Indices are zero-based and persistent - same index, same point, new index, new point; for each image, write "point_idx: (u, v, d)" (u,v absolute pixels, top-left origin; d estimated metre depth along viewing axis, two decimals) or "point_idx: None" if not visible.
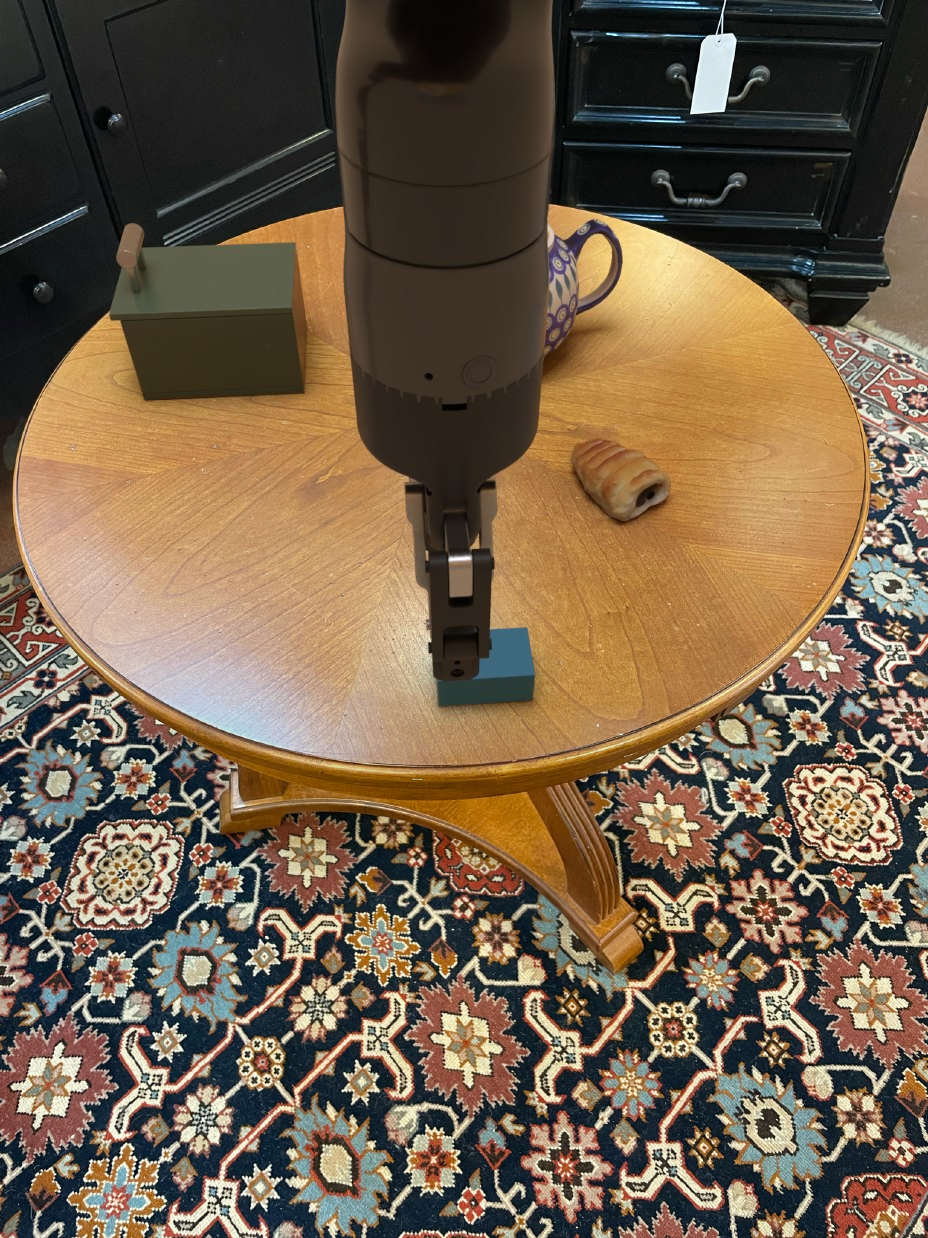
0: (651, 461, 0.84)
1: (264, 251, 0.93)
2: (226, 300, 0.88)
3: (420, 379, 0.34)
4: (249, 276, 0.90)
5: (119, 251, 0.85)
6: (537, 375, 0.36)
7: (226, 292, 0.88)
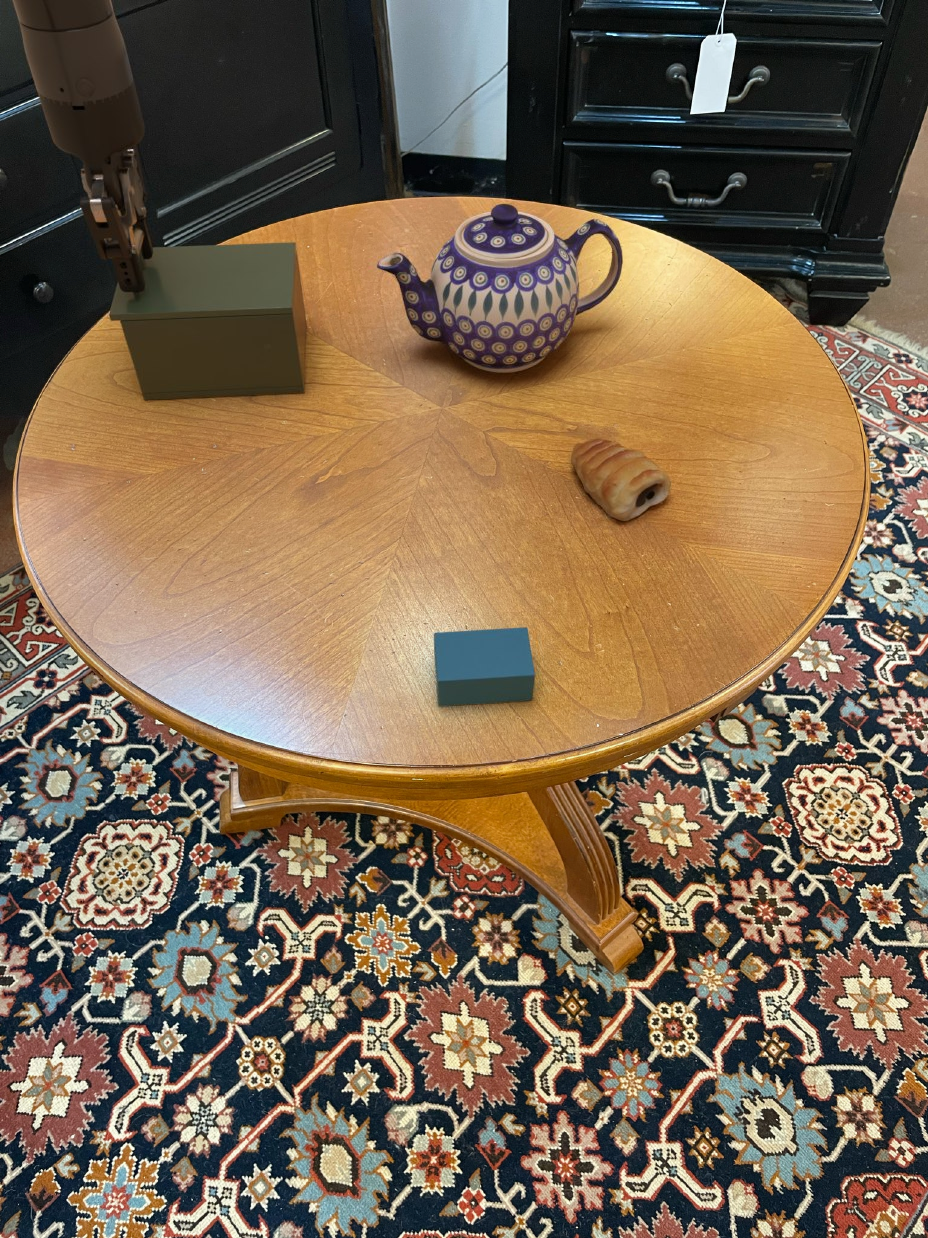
0: (651, 461, 0.84)
1: (264, 251, 0.93)
2: (226, 300, 0.88)
3: (58, 91, 0.74)
4: (249, 276, 0.90)
5: None
6: (125, 98, 0.76)
7: (226, 292, 0.88)
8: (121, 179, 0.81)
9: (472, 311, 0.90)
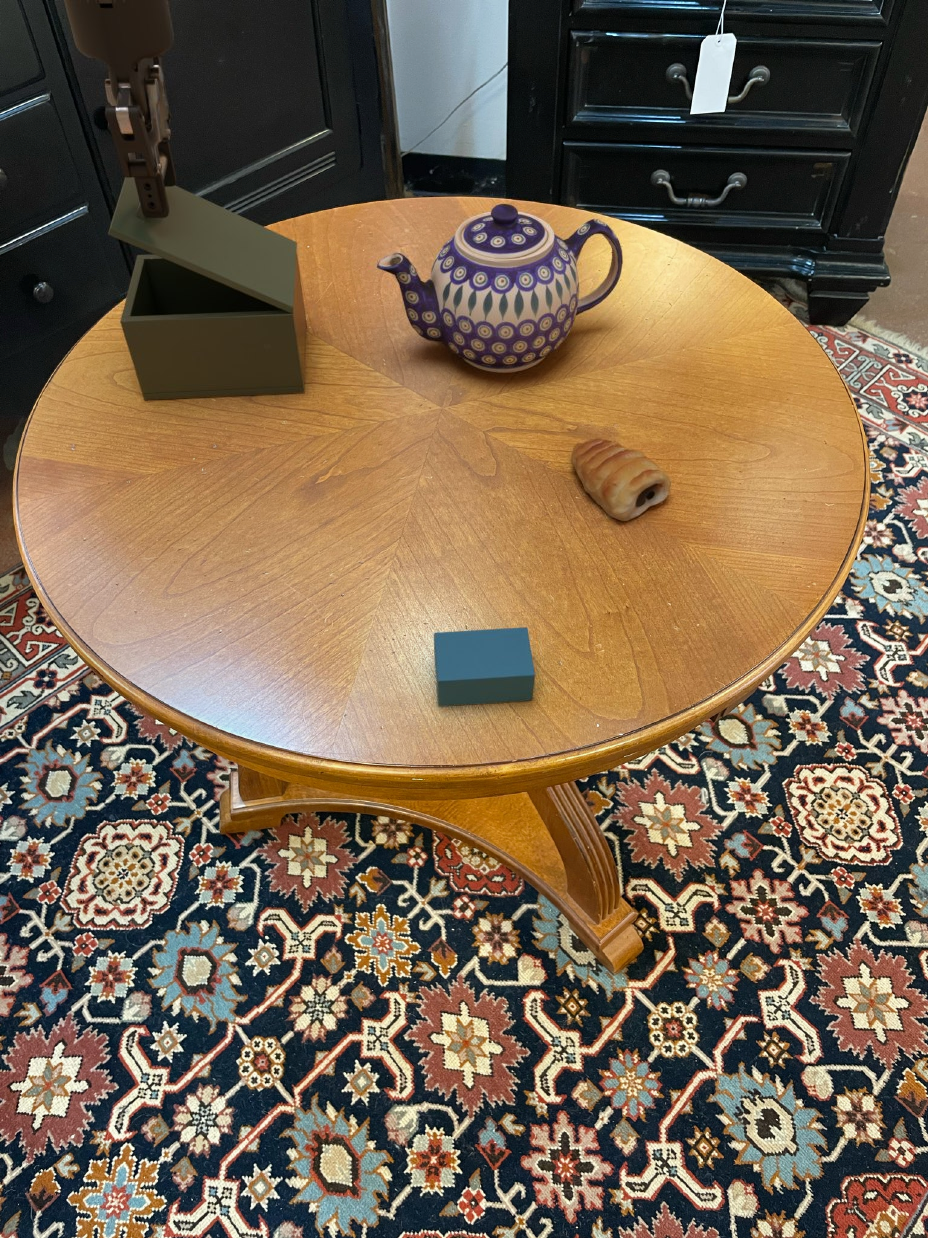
0: (651, 461, 0.84)
1: (268, 237, 0.92)
2: (231, 270, 0.85)
3: None
4: (253, 256, 0.89)
5: None
6: None
7: (231, 262, 0.86)
8: (148, 91, 0.76)
9: (472, 311, 0.90)
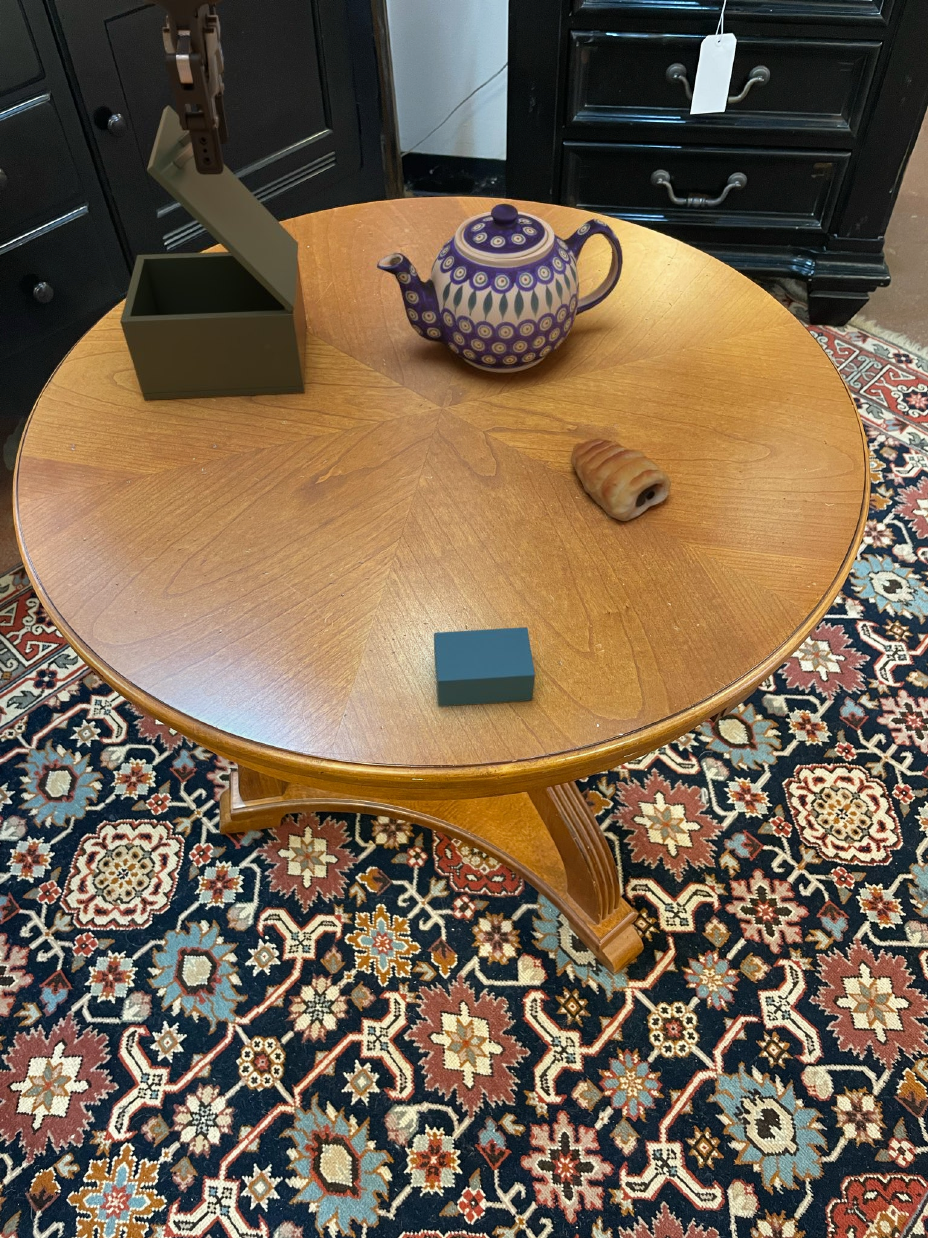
0: (651, 461, 0.84)
1: (276, 228, 0.92)
2: (248, 250, 0.84)
3: None
4: (265, 243, 0.88)
5: None
6: None
7: (248, 243, 0.85)
8: (206, 39, 0.73)
9: (472, 311, 0.90)
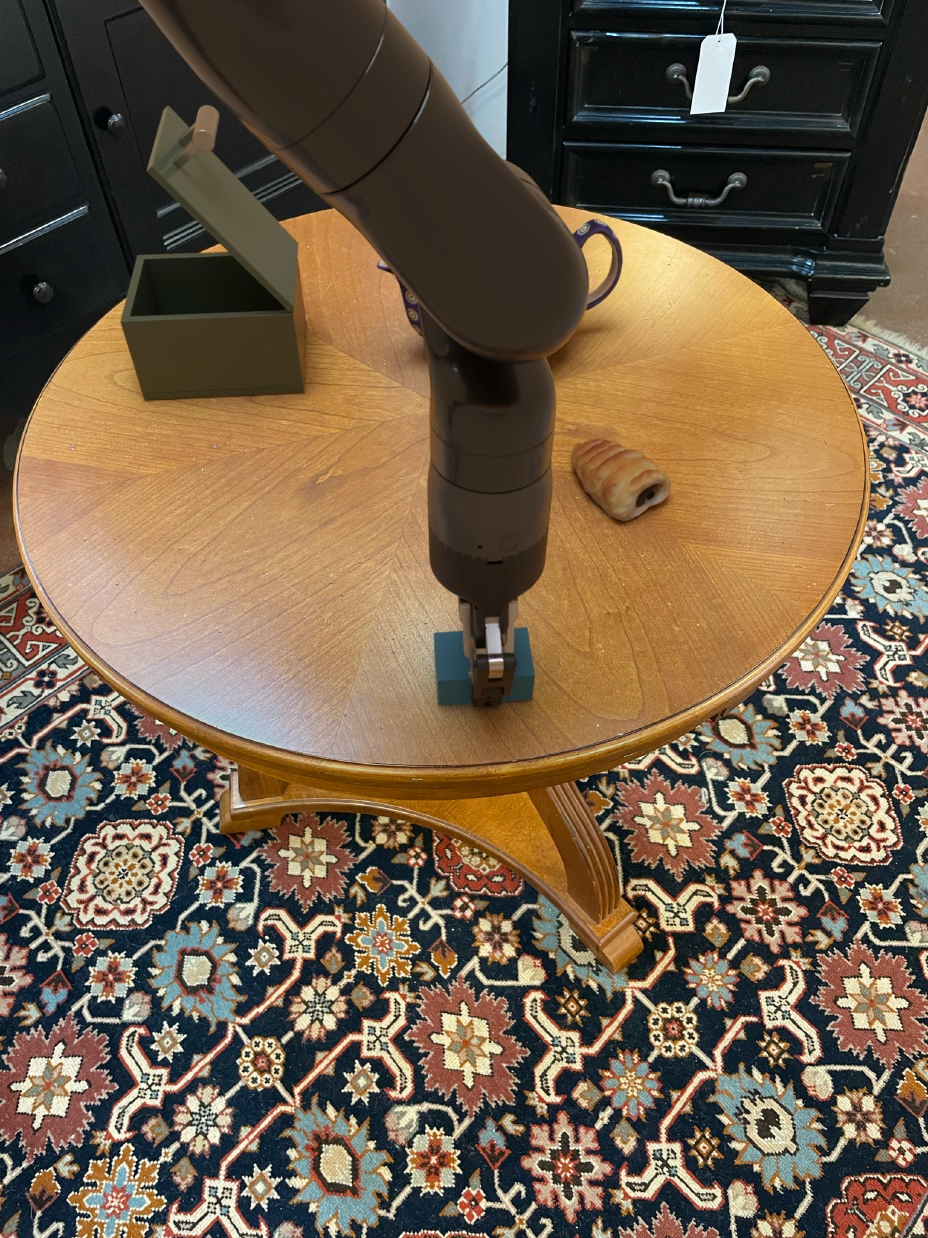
0: (651, 461, 0.84)
1: (276, 228, 0.92)
2: (248, 250, 0.84)
3: (474, 548, 0.56)
4: (265, 243, 0.88)
5: (205, 130, 0.78)
6: (545, 538, 0.58)
7: (248, 243, 0.85)
8: (508, 610, 0.63)
9: None
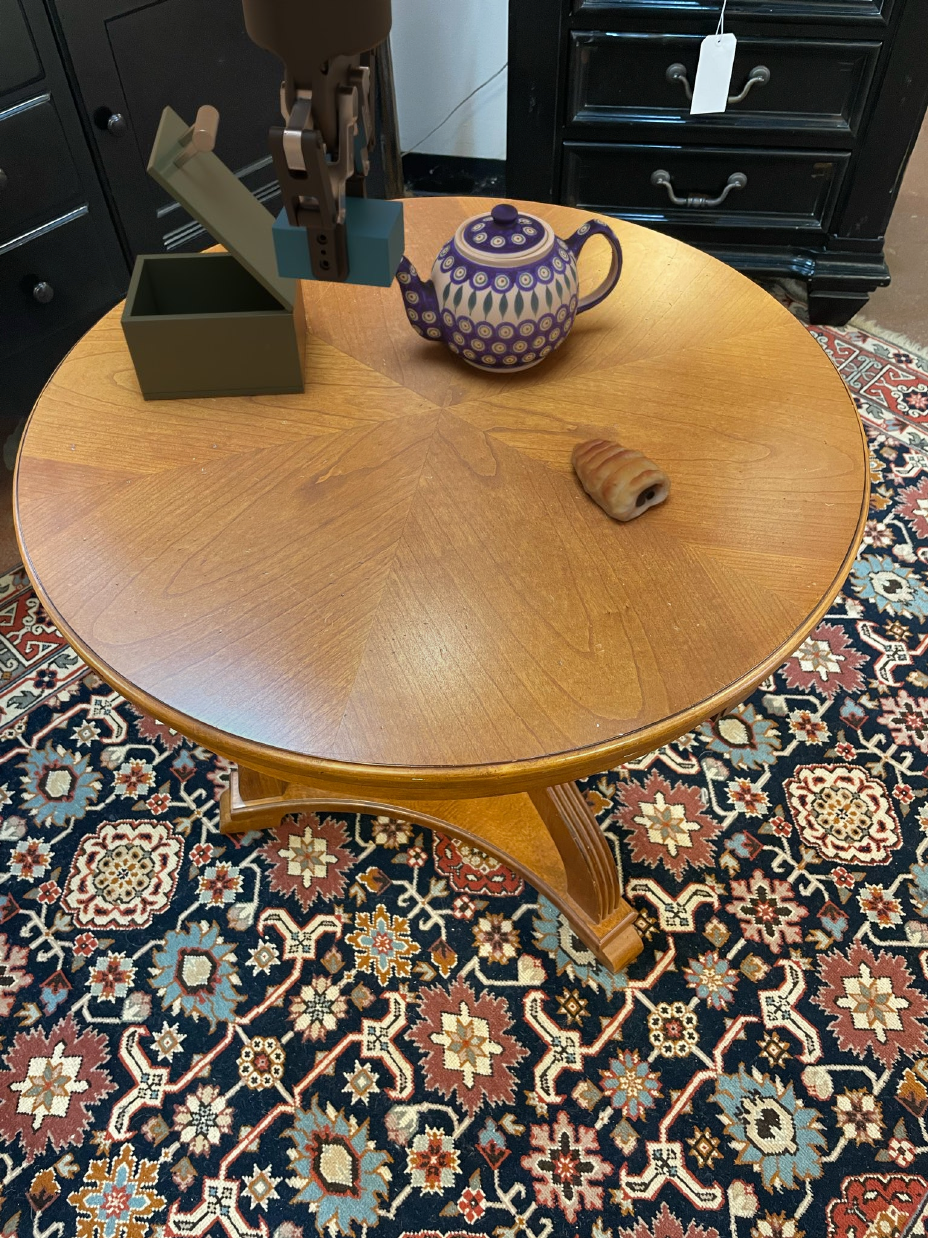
0: (651, 461, 0.84)
1: None
2: (248, 250, 0.84)
3: None
4: (265, 243, 0.88)
5: (205, 130, 0.78)
6: None
7: (248, 243, 0.85)
8: (340, 104, 0.50)
9: (472, 311, 0.90)
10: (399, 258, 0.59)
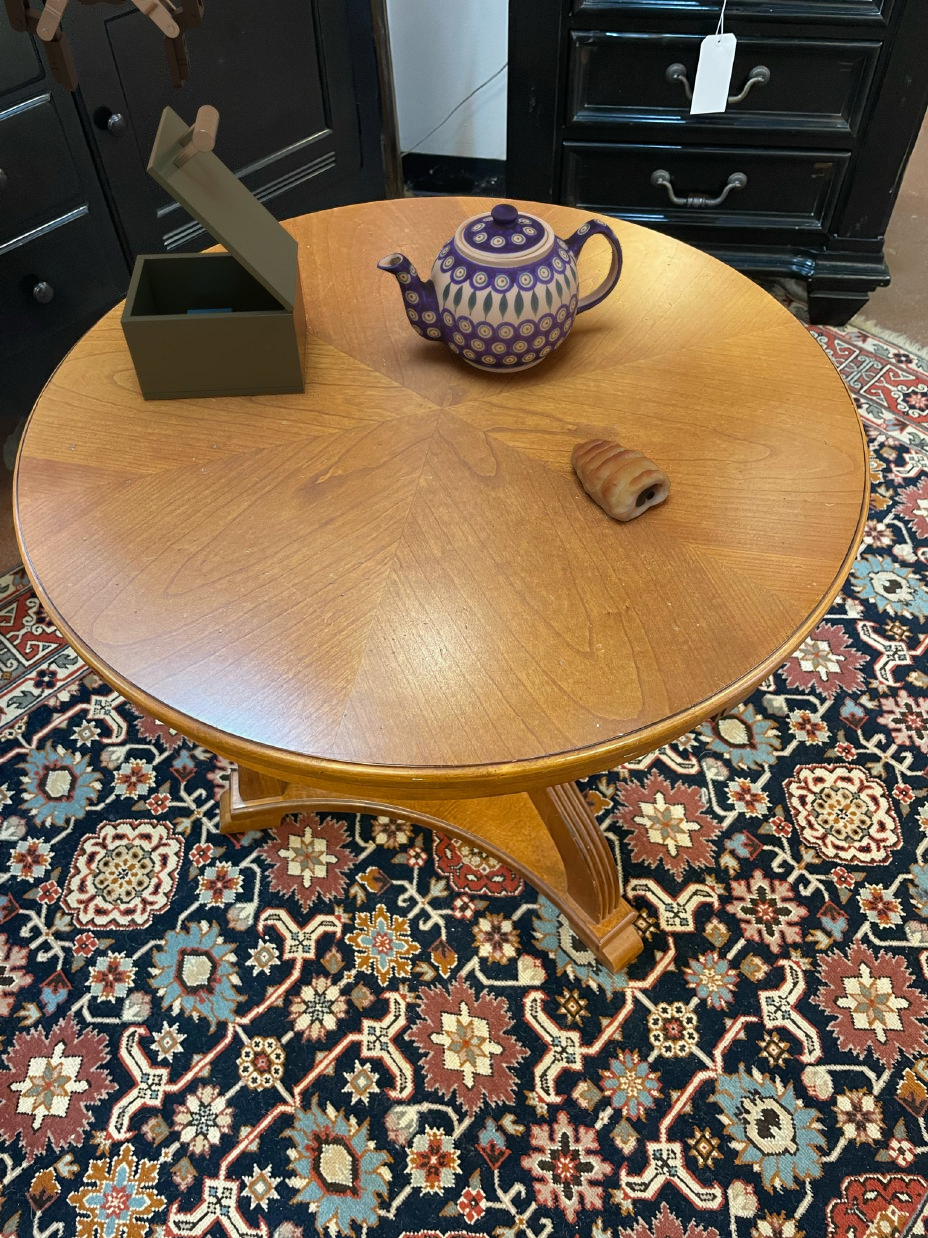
0: (651, 461, 0.84)
1: (276, 228, 0.92)
2: (248, 250, 0.84)
3: None
4: (265, 243, 0.88)
5: (205, 130, 0.78)
6: None
7: (248, 243, 0.85)
8: None
9: (472, 311, 0.90)
10: None
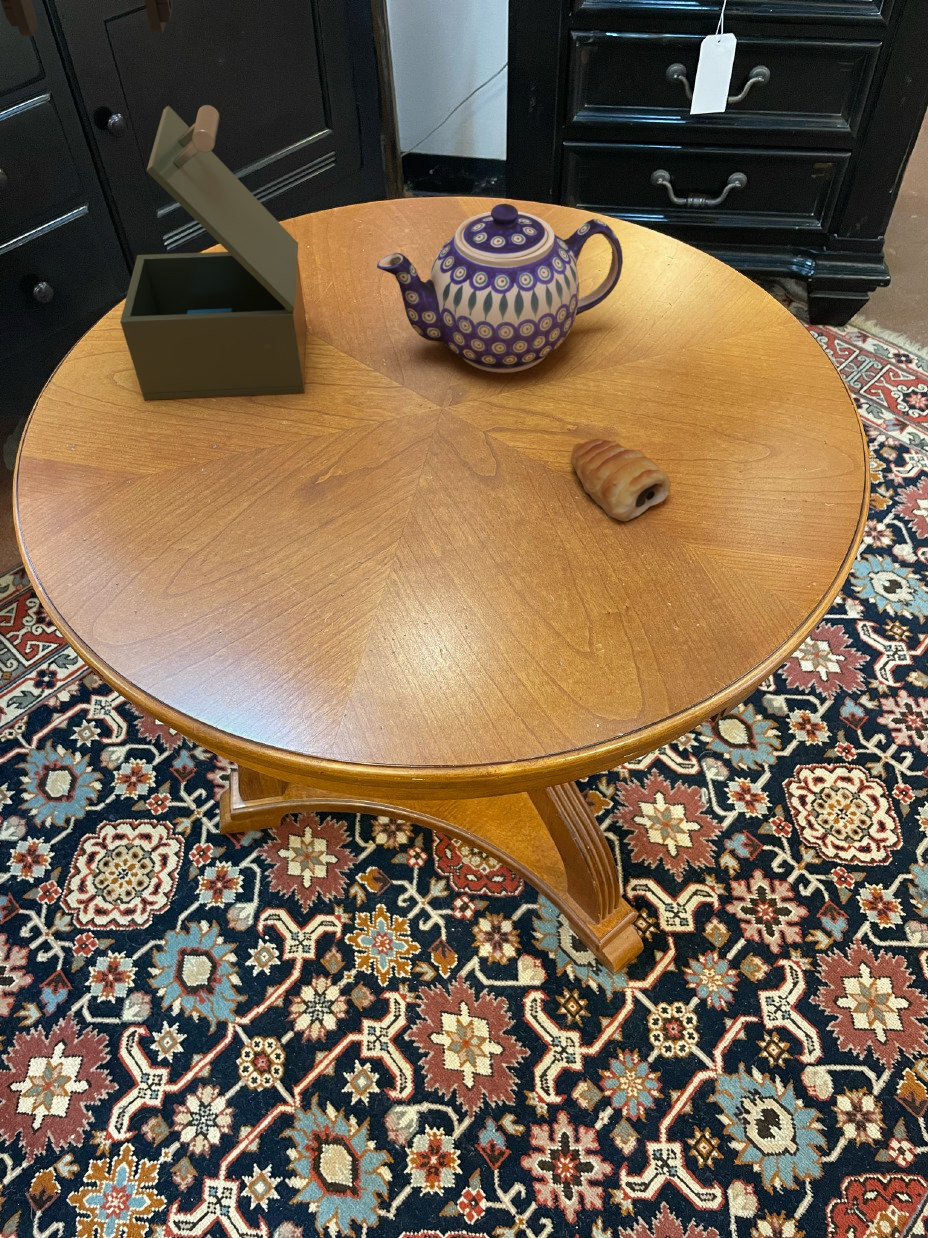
0: (651, 461, 0.84)
1: (276, 228, 0.92)
2: (248, 250, 0.84)
3: None
4: (265, 243, 0.88)
5: (205, 130, 0.78)
6: None
7: (248, 243, 0.85)
8: None
9: (472, 311, 0.90)
10: None
